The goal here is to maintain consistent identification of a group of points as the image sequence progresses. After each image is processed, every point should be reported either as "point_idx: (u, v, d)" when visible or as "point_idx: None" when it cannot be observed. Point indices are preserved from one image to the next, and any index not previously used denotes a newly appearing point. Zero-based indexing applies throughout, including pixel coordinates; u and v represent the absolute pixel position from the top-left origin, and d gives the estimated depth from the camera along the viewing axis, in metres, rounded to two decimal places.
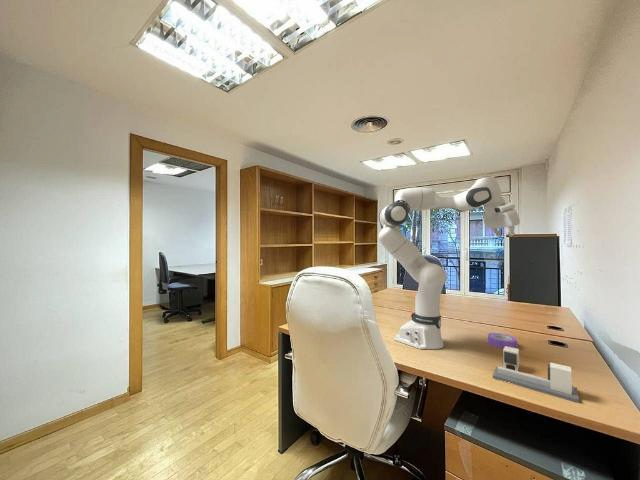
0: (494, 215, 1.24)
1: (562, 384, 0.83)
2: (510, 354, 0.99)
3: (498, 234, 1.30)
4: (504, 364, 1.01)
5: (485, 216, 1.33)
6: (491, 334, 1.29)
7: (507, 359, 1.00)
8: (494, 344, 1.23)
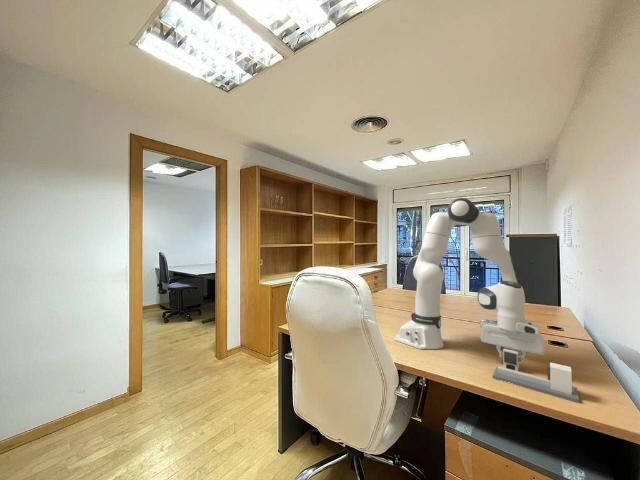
0: (515, 333, 0.99)
1: (562, 384, 0.83)
2: (510, 354, 0.99)
3: None
4: (504, 364, 1.01)
5: (489, 327, 1.05)
6: None
7: (507, 359, 1.00)
8: None
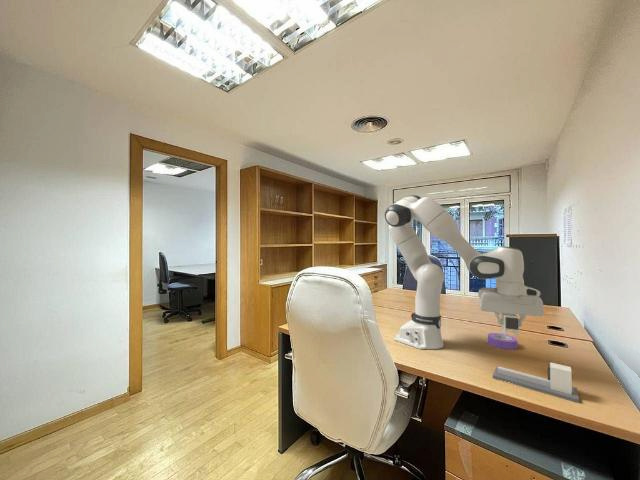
0: (517, 297, 0.97)
1: (562, 384, 0.83)
2: (512, 319, 0.97)
3: None
4: (505, 330, 0.98)
5: (490, 295, 1.01)
6: (491, 334, 1.29)
7: (509, 325, 0.97)
8: (494, 344, 1.23)
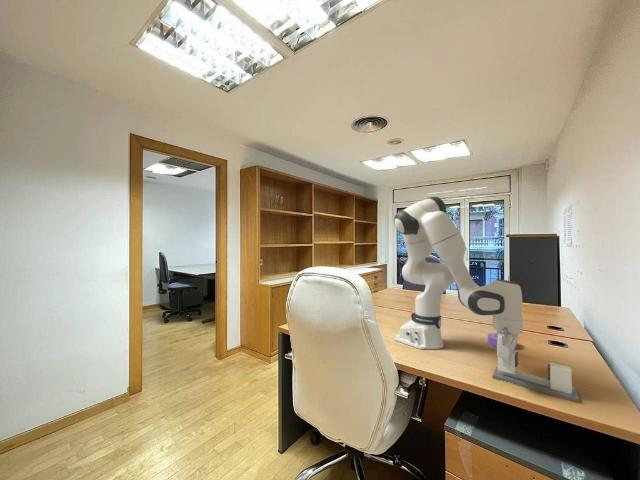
0: None
1: (562, 384, 0.83)
2: (517, 355, 0.92)
3: None
4: (515, 370, 0.91)
5: (511, 338, 0.88)
6: (491, 334, 1.29)
7: (517, 362, 0.91)
8: (494, 344, 1.23)
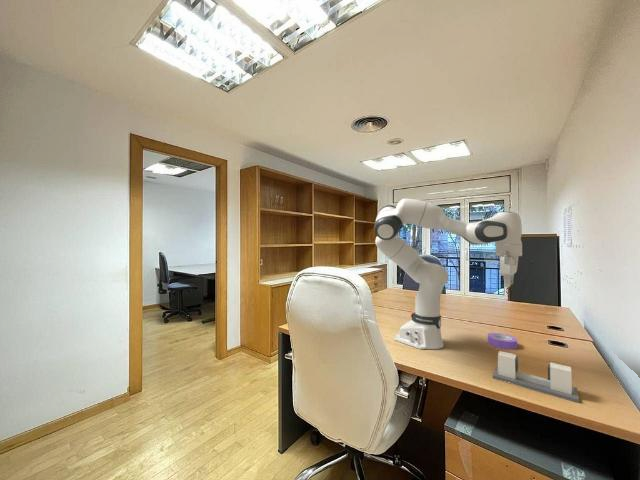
0: None
1: (562, 384, 0.83)
2: (517, 359, 0.92)
3: None
4: (515, 374, 0.91)
5: (512, 258, 1.00)
6: (491, 334, 1.29)
7: (517, 366, 0.92)
8: (494, 344, 1.23)
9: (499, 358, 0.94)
